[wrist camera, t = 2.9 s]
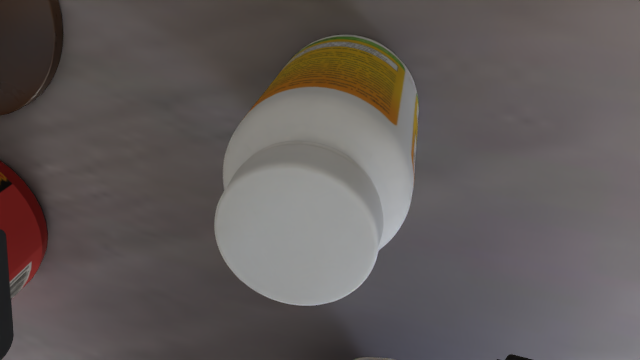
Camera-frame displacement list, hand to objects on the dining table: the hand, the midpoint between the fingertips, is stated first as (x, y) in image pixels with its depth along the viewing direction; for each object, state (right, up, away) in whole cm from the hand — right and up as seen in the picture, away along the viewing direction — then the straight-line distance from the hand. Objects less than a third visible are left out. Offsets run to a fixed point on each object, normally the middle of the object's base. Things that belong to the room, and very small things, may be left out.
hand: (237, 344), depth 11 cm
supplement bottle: (+3, +6, +11) cm, 13 cm away
